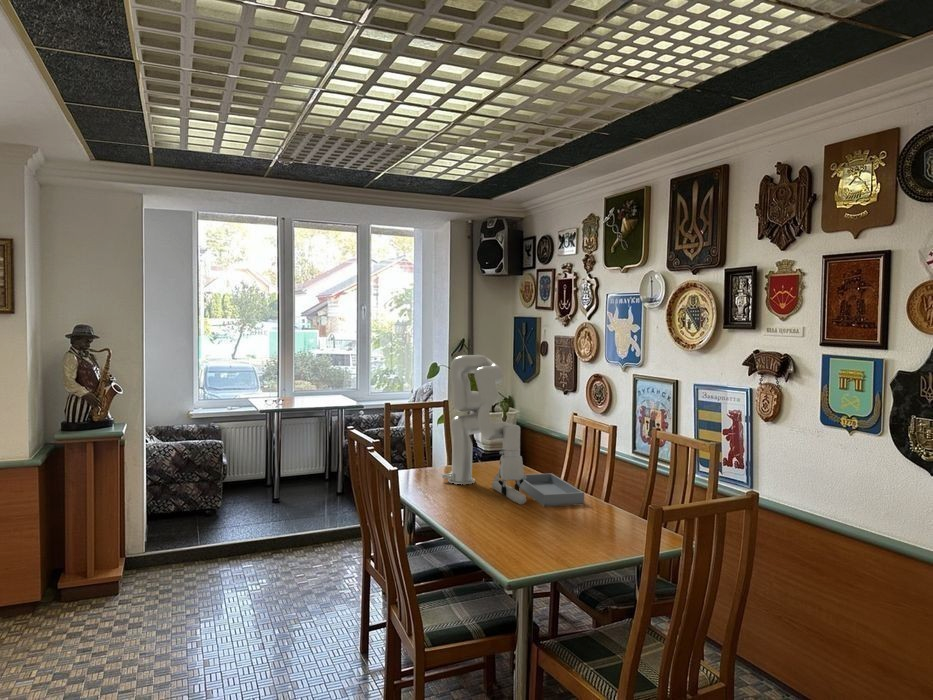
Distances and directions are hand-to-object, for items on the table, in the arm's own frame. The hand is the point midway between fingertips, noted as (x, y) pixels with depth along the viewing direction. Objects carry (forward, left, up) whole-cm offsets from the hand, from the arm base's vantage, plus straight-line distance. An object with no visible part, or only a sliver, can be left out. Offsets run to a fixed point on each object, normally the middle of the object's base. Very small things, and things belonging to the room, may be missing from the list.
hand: (510, 494), depth 269 cm
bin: (+18, 0, -1) cm, 18 cm away
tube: (0, 0, -2) cm, 2 cm away
